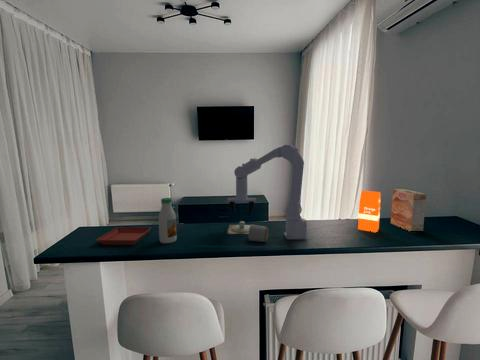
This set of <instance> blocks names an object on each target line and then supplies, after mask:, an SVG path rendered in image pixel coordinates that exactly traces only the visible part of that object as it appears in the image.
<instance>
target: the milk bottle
mask: <svg viewBox="0 0 480 360" xmlns="http://www.w3.org/2000/svg"><path fill="white" fill-rule="evenodd" d="M172 201H173V199H172V198H171V197H164V198H161V200H160V202H161V203H160V204H161V208H160V211H159V214H158V237H159V242H160V243H161V244H172V243H174V242H176V241H177V237H178V235H177V218H176V213H175V211H174V210H175V209H174V208H173V206H172V203H173V202H172Z"/></svg>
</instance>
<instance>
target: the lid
mask: <svg viewBox="0 0 480 360" xmlns="http://www.w3.org/2000/svg"><path fill="white" fill-rule="evenodd" d="M245 223H246V222H245V221H243V220H241V221H239V224H234V225H235V226H232V227H231V231H233V232H237V233H247V232H249V228H250V226H249V225H250V224H245Z"/></svg>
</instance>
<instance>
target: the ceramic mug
mask: <svg viewBox="0 0 480 360" xmlns="http://www.w3.org/2000/svg"><path fill="white" fill-rule="evenodd" d="M250 225H251V226H250V228H249V234H248V241H250V242H261V243H265V242H267V241H268V238H269V227H267V226H264V225H257V224H252V223H251V224H250Z"/></svg>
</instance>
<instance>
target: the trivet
mask: <svg viewBox="0 0 480 360" xmlns="http://www.w3.org/2000/svg"><path fill="white" fill-rule="evenodd" d="M235 225H236V224H229V226H228V229H227V234H228V235H232V234H233V235H235V234H236V235H249V232H247V233H237V232H233V231H231V227H232V226H235ZM248 225H249V226H251V224H248Z"/></svg>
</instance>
